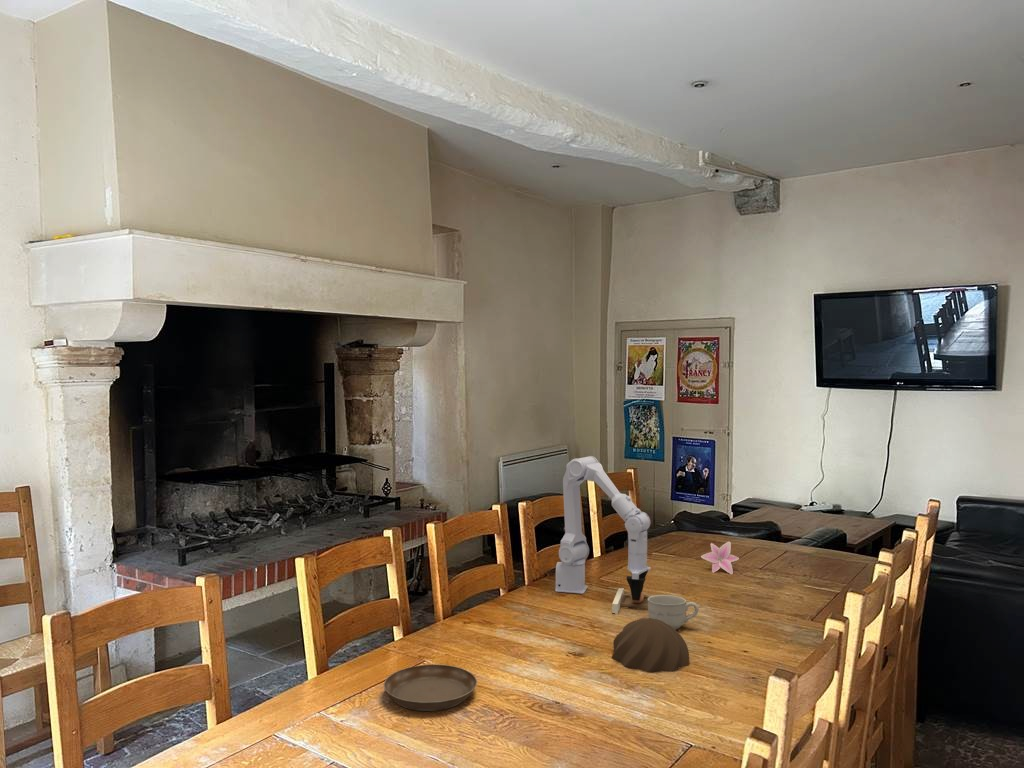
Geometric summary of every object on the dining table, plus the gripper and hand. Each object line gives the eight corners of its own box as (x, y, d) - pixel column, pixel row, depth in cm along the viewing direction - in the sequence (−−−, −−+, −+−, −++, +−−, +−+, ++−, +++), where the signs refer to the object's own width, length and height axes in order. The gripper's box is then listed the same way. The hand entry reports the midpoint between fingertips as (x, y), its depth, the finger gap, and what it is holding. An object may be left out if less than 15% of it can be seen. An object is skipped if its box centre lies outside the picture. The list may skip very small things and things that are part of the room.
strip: (612, 613, 221) (612, 603, 221) (618, 597, 236) (618, 588, 236) (617, 614, 220) (617, 604, 220) (623, 597, 236) (623, 588, 236)
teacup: (642, 629, 208) (642, 601, 208) (653, 617, 218) (654, 590, 217) (692, 638, 201) (692, 608, 201) (701, 625, 211) (702, 597, 211)
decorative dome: (636, 678, 176) (636, 636, 176) (598, 648, 194) (598, 610, 194) (705, 667, 182) (706, 627, 182) (662, 639, 201) (663, 602, 201)
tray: (620, 607, 227) (620, 603, 227) (623, 598, 235) (624, 594, 235) (651, 610, 224) (651, 606, 224) (653, 600, 233) (653, 596, 233)
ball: (630, 605, 228) (629, 594, 227) (631, 597, 232) (631, 586, 231) (643, 606, 227) (643, 595, 226) (644, 599, 231) (644, 587, 230)
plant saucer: (431, 669, 181) (431, 655, 181) (495, 693, 168) (495, 678, 168) (364, 698, 165) (364, 683, 165) (430, 727, 152) (429, 711, 152)
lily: (696, 571, 270) (699, 552, 265) (710, 553, 278) (714, 534, 273) (727, 587, 264) (731, 567, 259) (740, 568, 272) (745, 548, 267)
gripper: (648, 559, 221) (648, 604, 222) (652, 547, 235) (652, 590, 236) (625, 557, 223) (624, 602, 224) (630, 546, 237) (629, 588, 238)
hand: (637, 596), depth 230 cm, fingers open, 7 cm apart
